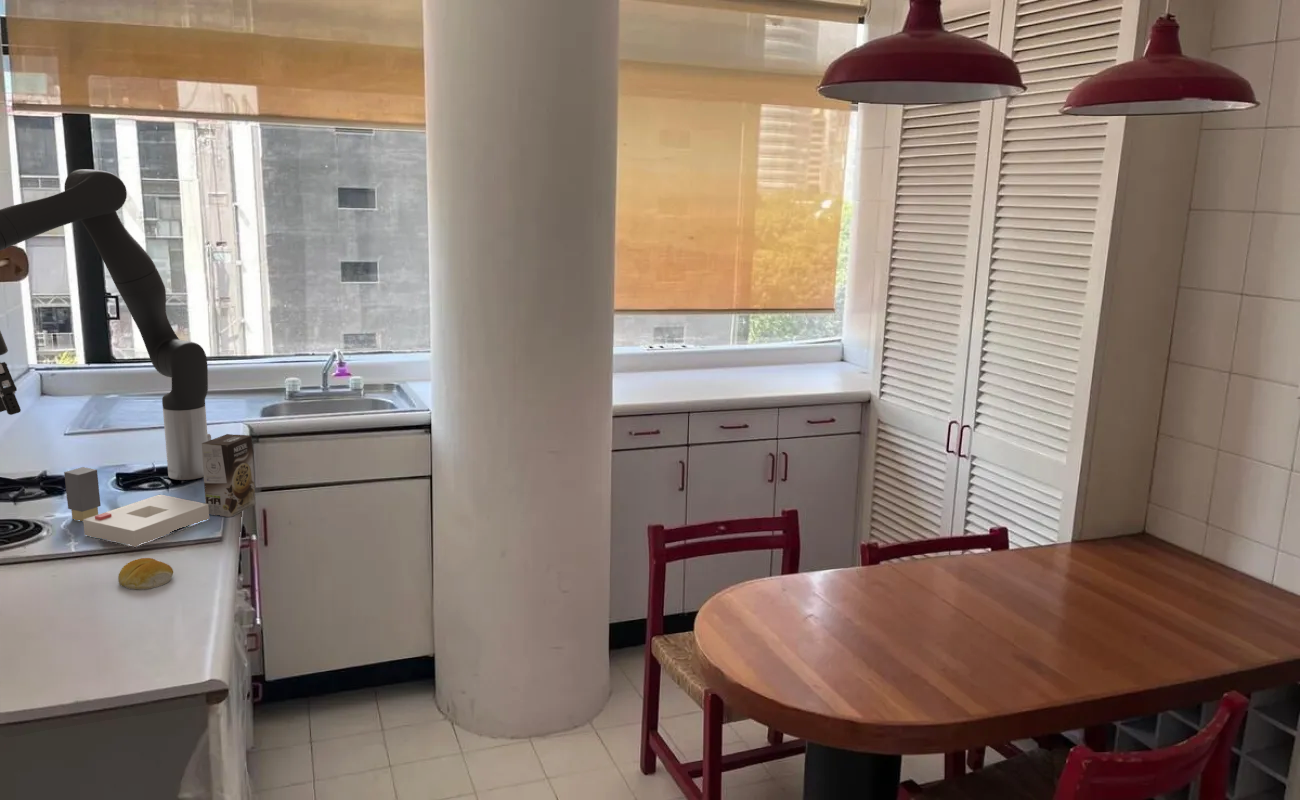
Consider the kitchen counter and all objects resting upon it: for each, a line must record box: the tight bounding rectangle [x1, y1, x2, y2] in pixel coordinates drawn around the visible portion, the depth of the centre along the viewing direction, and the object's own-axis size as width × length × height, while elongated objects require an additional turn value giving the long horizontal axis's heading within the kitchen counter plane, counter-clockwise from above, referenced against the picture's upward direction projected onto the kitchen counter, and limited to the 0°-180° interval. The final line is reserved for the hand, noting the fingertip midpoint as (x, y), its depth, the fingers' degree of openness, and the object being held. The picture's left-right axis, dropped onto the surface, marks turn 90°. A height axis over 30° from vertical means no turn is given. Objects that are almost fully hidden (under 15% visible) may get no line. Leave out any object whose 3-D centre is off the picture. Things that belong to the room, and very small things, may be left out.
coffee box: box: [202, 433, 256, 518], centre depth 204 cm, size 9×6×16 cm
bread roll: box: [117, 557, 174, 591], centre depth 168 cm, size 8×9×4 cm
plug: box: [63, 466, 101, 522], centre depth 197 cm, size 4×4×10 cm
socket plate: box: [82, 494, 210, 548], centre depth 193 cm, size 18×14×4 cm
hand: (8, 412), depth 188 cm, fingers open, 8 cm apart
